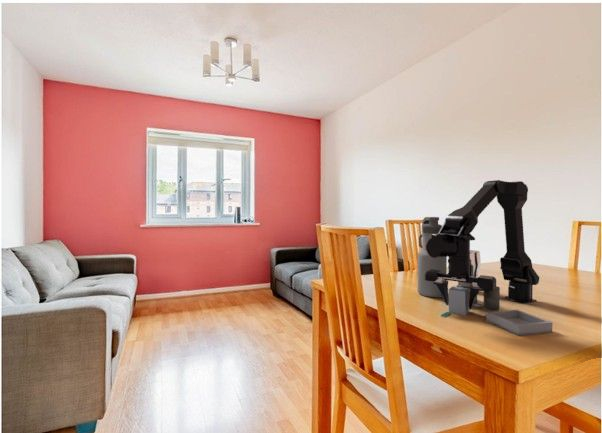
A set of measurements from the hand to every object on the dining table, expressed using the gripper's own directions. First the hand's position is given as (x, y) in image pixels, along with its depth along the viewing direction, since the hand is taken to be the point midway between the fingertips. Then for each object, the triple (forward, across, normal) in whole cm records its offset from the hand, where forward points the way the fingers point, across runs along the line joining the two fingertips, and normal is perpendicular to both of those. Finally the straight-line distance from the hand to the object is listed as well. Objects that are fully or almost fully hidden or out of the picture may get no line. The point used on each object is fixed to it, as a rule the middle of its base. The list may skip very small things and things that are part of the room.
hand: (458, 307), depth 95 cm
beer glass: (+2, +3, -28) cm, 28 cm away
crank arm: (0, -4, -7) cm, 8 cm away
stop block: (+2, 0, 0) cm, 2 cm away
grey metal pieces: (+1, +1, -4) cm, 5 cm away
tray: (+2, -15, +3) cm, 15 cm away
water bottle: (+2, +13, -15) cm, 20 cm away
